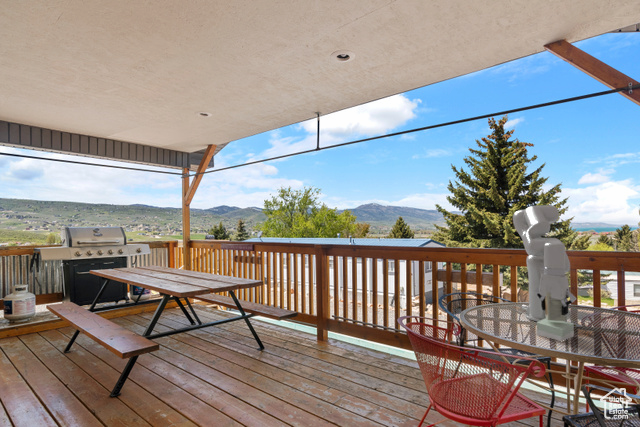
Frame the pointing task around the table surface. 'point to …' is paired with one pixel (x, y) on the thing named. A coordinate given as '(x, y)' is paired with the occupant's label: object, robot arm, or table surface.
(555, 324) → the top slab
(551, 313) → the skincare box
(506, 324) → the table surface
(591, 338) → the table surface
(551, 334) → the bottom slab
